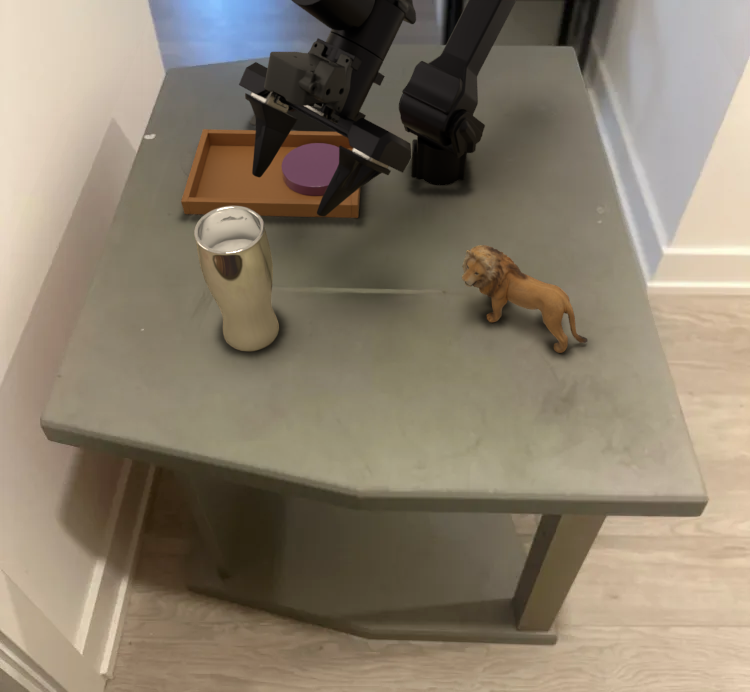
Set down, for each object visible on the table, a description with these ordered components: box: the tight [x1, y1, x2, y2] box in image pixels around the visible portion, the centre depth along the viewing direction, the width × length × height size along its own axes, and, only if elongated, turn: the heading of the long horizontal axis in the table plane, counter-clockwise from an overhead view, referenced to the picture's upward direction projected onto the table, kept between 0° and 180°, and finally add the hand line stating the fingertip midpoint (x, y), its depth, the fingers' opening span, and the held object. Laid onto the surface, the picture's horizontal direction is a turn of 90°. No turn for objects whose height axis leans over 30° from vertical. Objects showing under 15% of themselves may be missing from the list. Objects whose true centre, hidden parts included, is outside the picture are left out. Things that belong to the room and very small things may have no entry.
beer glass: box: [193, 206, 280, 352], centre depth 75 cm, size 7×7×15 cm
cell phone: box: [249, 104, 340, 132], centre depth 104 cm, size 7×14×1 cm, turn 71°
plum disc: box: [281, 143, 339, 196], centre depth 96 cm, size 9×9×2 cm
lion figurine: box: [461, 244, 588, 354], centre depth 78 cm, size 15×5×9 cm, turn 66°
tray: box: [180, 128, 361, 219], centre depth 95 cm, size 22×15×3 cm
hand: (287, 195), depth 75 cm, fingers open, 9 cm apart
